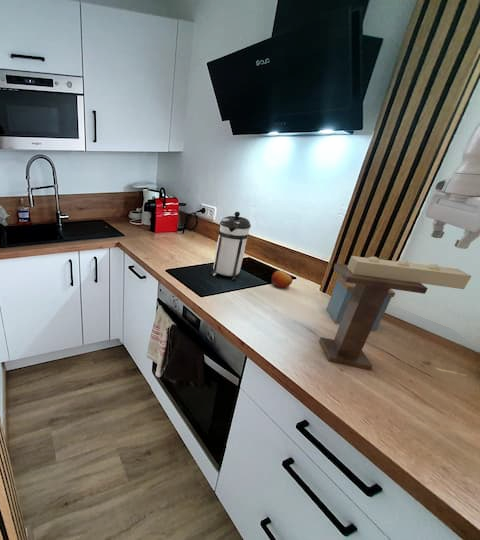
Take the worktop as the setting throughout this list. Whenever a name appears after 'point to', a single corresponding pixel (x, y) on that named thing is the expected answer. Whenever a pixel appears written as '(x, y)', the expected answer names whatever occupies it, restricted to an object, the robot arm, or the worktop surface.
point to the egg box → (409, 272)
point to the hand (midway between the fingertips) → (447, 242)
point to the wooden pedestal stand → (361, 316)
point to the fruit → (281, 279)
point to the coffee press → (231, 245)
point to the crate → (342, 299)
